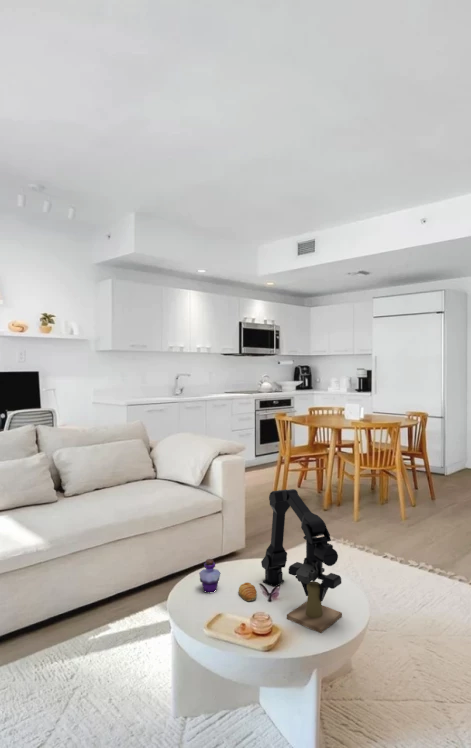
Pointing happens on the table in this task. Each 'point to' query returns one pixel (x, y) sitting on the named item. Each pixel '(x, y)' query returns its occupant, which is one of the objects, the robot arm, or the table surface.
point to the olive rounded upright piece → (313, 600)
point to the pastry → (247, 592)
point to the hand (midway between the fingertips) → (314, 598)
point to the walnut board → (314, 623)
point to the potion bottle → (209, 576)
